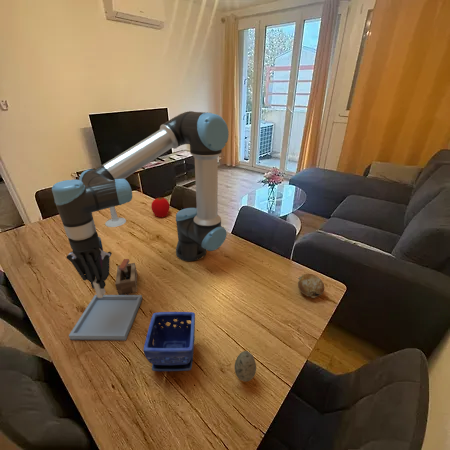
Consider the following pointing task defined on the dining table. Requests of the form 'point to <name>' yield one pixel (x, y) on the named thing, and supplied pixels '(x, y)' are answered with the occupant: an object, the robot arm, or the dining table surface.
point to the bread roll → (311, 285)
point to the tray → (107, 318)
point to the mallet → (125, 268)
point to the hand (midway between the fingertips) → (101, 294)
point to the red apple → (160, 207)
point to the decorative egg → (245, 366)
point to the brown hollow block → (129, 284)
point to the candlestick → (114, 219)
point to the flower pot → (170, 341)
